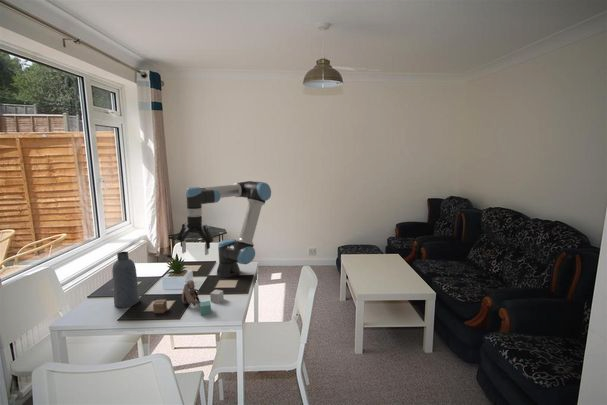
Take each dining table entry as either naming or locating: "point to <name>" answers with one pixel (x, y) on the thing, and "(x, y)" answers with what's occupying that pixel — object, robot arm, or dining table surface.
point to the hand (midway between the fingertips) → (195, 253)
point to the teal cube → (205, 308)
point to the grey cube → (216, 296)
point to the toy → (190, 293)
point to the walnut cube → (159, 306)
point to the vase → (125, 281)
